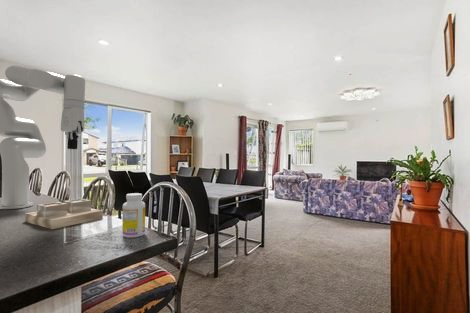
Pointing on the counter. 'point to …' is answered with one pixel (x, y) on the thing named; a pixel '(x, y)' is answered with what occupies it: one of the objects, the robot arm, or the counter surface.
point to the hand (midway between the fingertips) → (72, 148)
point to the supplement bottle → (133, 216)
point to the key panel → (63, 214)
